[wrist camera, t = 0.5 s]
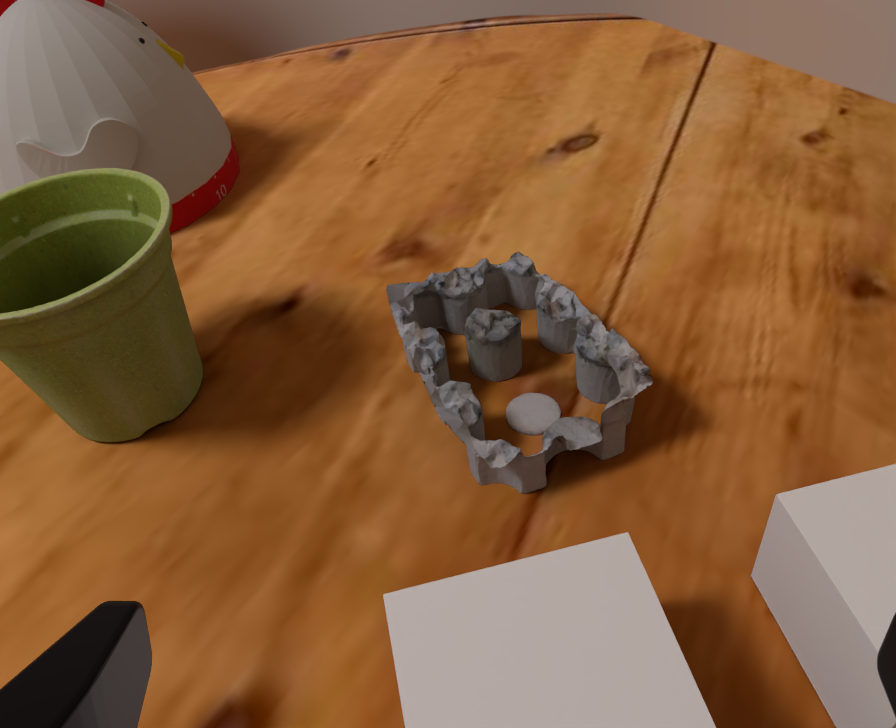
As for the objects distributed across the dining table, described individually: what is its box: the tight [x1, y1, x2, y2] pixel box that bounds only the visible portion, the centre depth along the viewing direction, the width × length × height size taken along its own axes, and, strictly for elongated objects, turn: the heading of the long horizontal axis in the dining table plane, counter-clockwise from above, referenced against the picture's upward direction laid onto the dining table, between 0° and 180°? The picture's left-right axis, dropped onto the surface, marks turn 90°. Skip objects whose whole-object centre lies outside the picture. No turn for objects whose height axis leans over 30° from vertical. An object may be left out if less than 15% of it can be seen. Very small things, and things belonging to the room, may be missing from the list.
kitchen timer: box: [0, 0, 239, 234], centre depth 43 cm, size 14×14×15 cm
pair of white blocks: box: [383, 464, 896, 728], centre depth 21 cm, size 6×18×4 cm, turn 102°
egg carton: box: [386, 252, 653, 494], centre depth 31 cm, size 11×8×4 cm
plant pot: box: [0, 168, 203, 442], centre depth 32 cm, size 9×9×9 cm
